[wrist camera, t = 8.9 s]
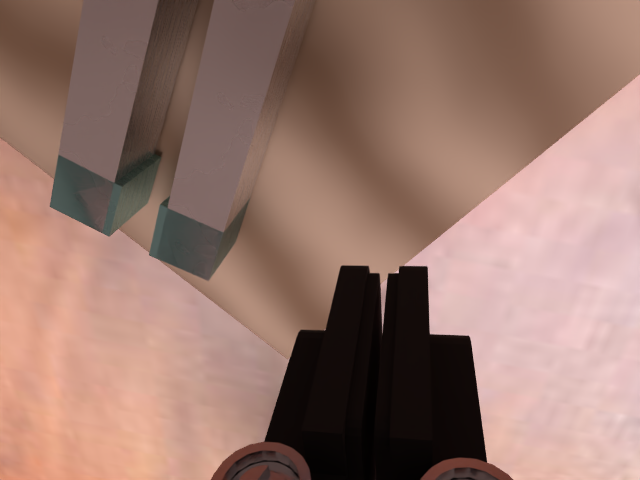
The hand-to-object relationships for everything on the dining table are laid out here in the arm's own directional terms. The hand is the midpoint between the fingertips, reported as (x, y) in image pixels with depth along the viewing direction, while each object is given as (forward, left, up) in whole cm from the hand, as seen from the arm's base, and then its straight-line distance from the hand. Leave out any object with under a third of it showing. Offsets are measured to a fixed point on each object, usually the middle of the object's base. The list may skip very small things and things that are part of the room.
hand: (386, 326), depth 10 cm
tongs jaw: (-2, +6, -10) cm, 12 cm away
